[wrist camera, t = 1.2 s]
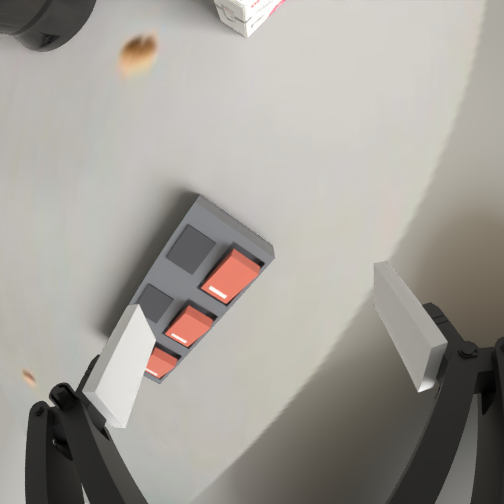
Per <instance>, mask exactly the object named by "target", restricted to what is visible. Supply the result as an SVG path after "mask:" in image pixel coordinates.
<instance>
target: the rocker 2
mask: <svg viewBox="0 0 504 504" xmlns="http://www.w3.org/2000/svg"><path fill="white" fill-rule="evenodd" d="M212 322H213V320H212V319H211V318H209V317H207V316H206V315H204V314H202V313H201V312H199V311H197V310H196V309H194V308H192V307H191V306H189V305H188V306H187V307H186V308H185V309H184V310H183V312H182V313H181V314H180V315H179V316H178V317H177V318H176V319H175V320H174V321H173V322H172V323H171V324H170V325H169V326H168V328H167V330H166V333H165V334H166V335H167V336H169V337H171V338H172V339H174V340H176V341H178V342H179V343H181V344H183V345H185V346H186V347H188V346H189V345H191V344H192V343H193V342H194V341H195V340H197V339H198V338H199V337H200V336H202V335H203V334H204V333H205V332H206V331H208V330H209V329H210V328H211V325H212Z"/></svg>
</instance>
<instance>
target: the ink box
mask: <svg viewBox="0 0 504 504" xmlns="http://www.w3.org/2000/svg"><path fill="white" fill-rule="evenodd" d="M284 1H285V0H214V3H215V6H216V9H217V11H218V14H219V17H220V20H221V21H222V22H223V23H225V24H226V25H228V26H229V27H231V28H232V29H234V30H235V31H237V32H238V33H240V34H241V35H243V36H244V37H249V36H250V35H251V34H252V33H253V32H254V31H255V30H256V29H257V28H258V27H259V25H260V24H261V23H262V22H263V21H264V20H265V19H266V18H267V17H268V16H269V15H270V14H271V13H273V12H274V11H275V10H276V9H277V8H278V7H279V6H280V5H281V4H282V3H283V2H284Z"/></svg>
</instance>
